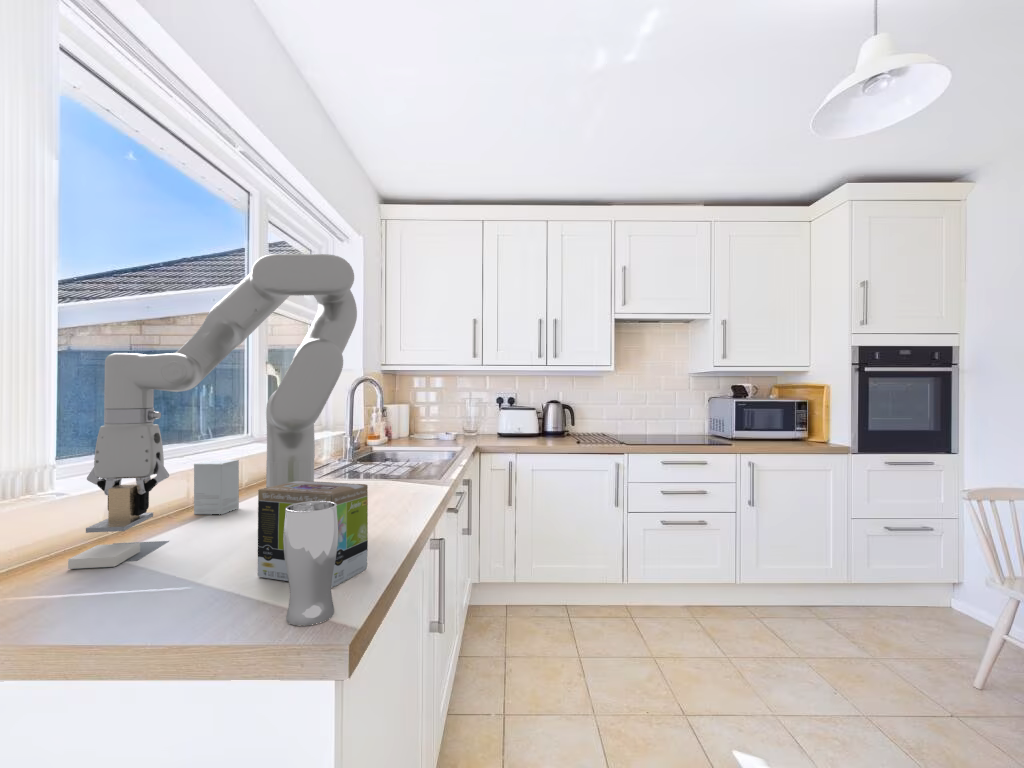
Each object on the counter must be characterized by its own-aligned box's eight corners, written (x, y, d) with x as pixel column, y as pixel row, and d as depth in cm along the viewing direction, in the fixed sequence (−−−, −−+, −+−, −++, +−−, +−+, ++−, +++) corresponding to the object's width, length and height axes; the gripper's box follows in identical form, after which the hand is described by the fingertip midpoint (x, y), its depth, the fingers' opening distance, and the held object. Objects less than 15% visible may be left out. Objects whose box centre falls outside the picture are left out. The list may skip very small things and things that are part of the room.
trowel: (124, 531, 90) (124, 492, 90) (85, 532, 89) (85, 494, 89) (153, 516, 100) (153, 481, 100) (118, 517, 99) (119, 482, 99)
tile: (97, 545, 93) (68, 559, 85) (140, 543, 94) (115, 557, 86) (97, 554, 93) (67, 570, 85) (140, 552, 94) (114, 567, 86)
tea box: (369, 569, 87) (370, 483, 88) (330, 590, 78) (331, 494, 78) (299, 559, 92) (299, 477, 92) (254, 578, 83) (255, 487, 83)
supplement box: (239, 508, 131) (240, 459, 131) (220, 515, 124) (221, 463, 124) (213, 507, 132) (213, 459, 132) (192, 514, 124) (193, 463, 125)
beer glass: (284, 632, 64) (285, 514, 64) (281, 611, 70) (282, 503, 71) (341, 621, 67) (342, 508, 68) (333, 601, 74) (334, 498, 74)
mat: (169, 542, 102) (169, 540, 102) (137, 562, 90) (137, 560, 90) (113, 544, 100) (113, 543, 100) (73, 565, 88) (73, 563, 88)
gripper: (185, 416, 102) (185, 508, 102) (92, 417, 99) (91, 511, 99) (167, 418, 95) (166, 517, 94) (66, 419, 92) (65, 521, 91)
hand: (128, 513), depth 97 cm, fingers closed on trowel, 3 cm apart
